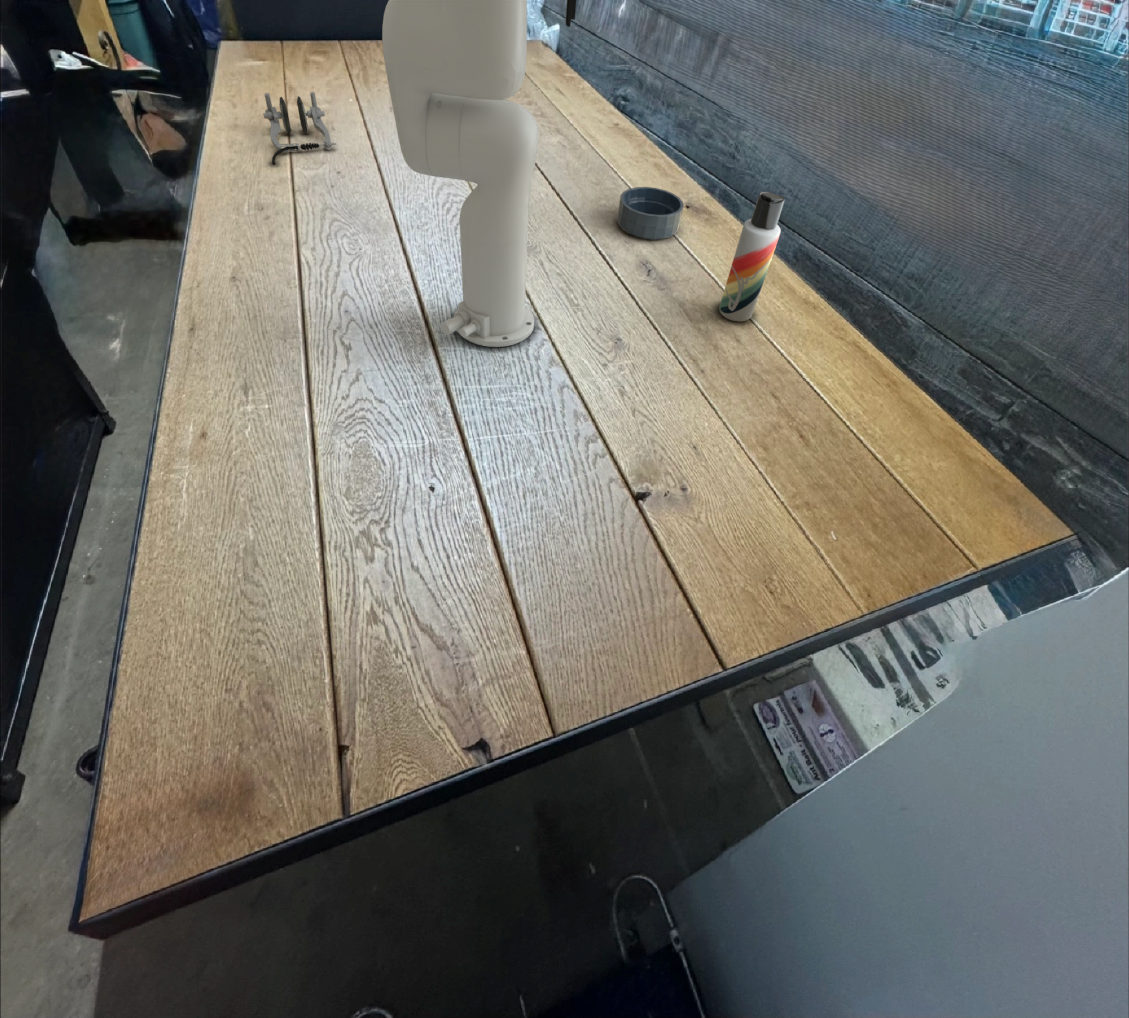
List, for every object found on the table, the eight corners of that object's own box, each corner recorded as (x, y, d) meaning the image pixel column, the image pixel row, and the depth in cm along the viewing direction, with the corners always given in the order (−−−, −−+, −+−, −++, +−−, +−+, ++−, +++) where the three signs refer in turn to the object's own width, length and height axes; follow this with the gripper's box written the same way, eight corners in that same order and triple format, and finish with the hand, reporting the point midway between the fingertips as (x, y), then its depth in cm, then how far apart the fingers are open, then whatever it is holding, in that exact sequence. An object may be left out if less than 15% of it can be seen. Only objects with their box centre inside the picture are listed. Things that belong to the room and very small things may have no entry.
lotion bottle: (714, 315, 110) (749, 195, 95) (724, 299, 114) (760, 181, 98) (746, 326, 109) (786, 206, 93) (755, 310, 112) (796, 192, 97)
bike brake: (261, 121, 144) (275, 174, 135) (254, 88, 138) (267, 141, 129) (325, 119, 148) (342, 170, 139) (321, 87, 142) (338, 138, 133)
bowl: (655, 248, 123) (660, 222, 120) (604, 225, 128) (607, 199, 124) (689, 227, 130) (695, 202, 126) (639, 206, 134) (644, 181, 131)
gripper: (482, -127, 90) (484, 23, 103) (605, -114, 92) (592, 33, 105) (485, -133, 95) (486, 10, 108) (602, -120, 97) (590, 20, 110)
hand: (538, 21), depth 106 cm, fingers open, 9 cm apart
